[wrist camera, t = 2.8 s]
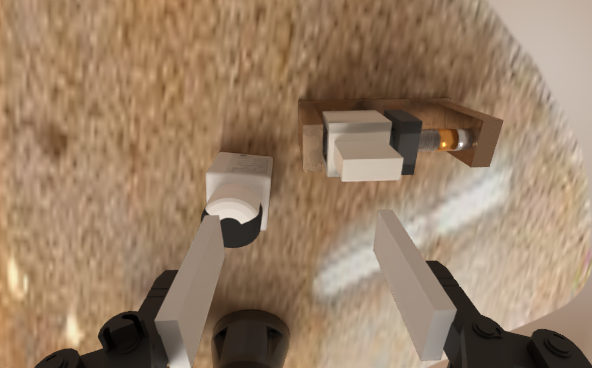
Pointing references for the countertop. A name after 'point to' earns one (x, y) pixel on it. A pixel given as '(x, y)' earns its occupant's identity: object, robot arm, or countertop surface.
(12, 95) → the countertop surface
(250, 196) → the container
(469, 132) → the rod stand
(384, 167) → the stepped block with cap
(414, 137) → the dark grey block
